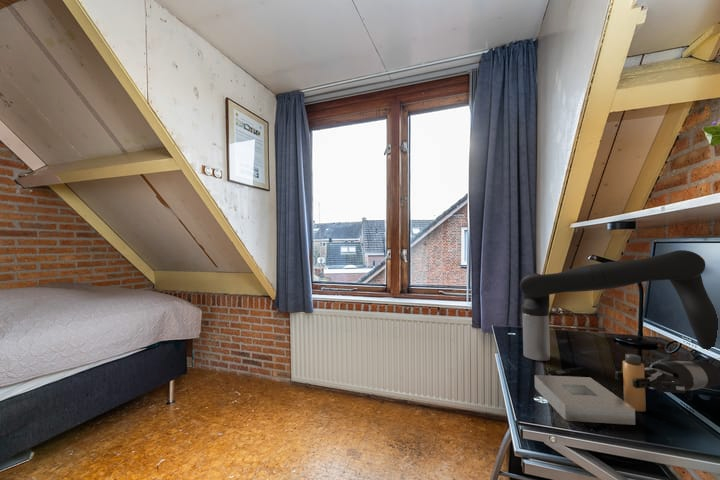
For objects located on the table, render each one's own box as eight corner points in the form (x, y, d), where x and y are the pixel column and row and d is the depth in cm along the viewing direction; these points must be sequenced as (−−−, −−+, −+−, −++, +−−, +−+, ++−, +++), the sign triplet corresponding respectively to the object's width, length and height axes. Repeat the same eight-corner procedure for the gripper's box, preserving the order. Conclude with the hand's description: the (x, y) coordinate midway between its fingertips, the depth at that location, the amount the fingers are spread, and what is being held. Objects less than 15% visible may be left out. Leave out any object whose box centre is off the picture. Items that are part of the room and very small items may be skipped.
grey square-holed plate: (534, 387, 95) (534, 374, 95) (590, 390, 93) (590, 377, 93) (565, 420, 77) (565, 404, 77) (635, 424, 75) (634, 408, 75)
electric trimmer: (590, 378, 102) (590, 368, 102) (553, 383, 98) (553, 373, 98) (579, 373, 106) (579, 364, 106) (543, 378, 102) (543, 369, 102)
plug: (620, 402, 85) (618, 352, 86) (637, 403, 85) (635, 353, 85) (631, 411, 81) (629, 358, 81) (650, 412, 80) (648, 359, 81)
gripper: (650, 353, 92) (600, 356, 90) (710, 372, 78) (652, 376, 76) (651, 378, 92) (601, 381, 90) (711, 401, 78) (653, 407, 75)
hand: (625, 379), depth 83 cm, fingers closed on plug, 4 cm apart
